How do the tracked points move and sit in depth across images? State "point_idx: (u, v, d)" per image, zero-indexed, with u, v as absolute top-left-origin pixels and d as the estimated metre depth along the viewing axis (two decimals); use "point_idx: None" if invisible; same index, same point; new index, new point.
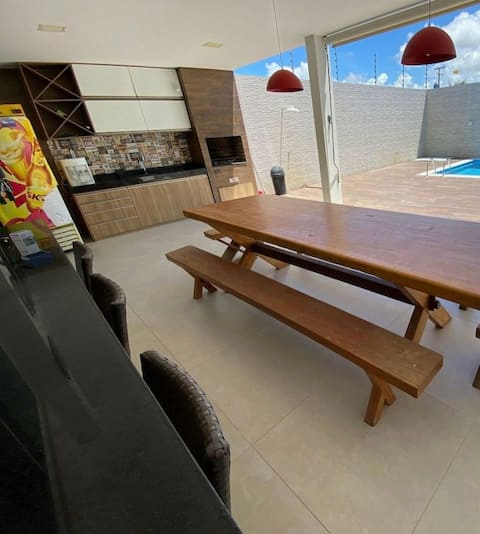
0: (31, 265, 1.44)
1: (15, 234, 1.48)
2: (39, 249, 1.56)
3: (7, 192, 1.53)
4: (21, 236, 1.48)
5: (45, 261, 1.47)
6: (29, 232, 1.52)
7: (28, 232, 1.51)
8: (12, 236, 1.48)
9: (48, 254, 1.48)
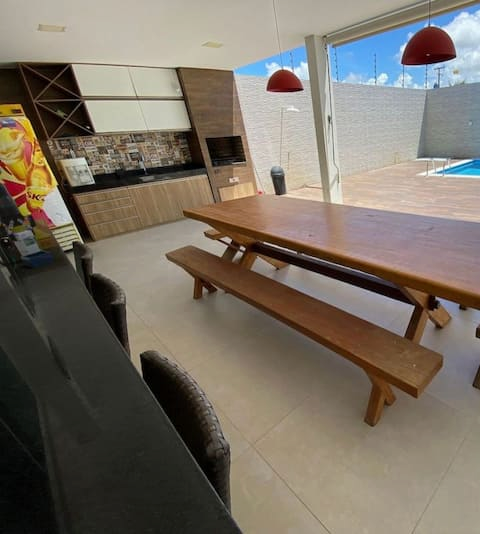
0: (31, 265, 1.44)
1: (15, 234, 1.48)
2: (39, 249, 1.56)
3: (28, 228, 1.53)
4: (21, 236, 1.48)
5: (45, 261, 1.47)
6: (29, 232, 1.52)
7: (28, 232, 1.51)
8: None
9: (48, 254, 1.48)
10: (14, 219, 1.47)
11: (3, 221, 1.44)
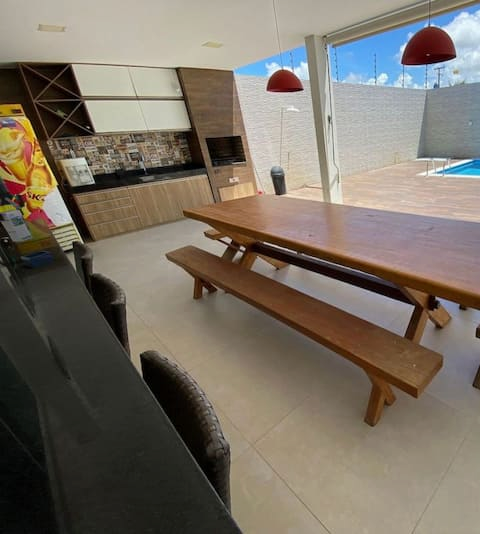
0: (31, 265, 1.44)
1: (3, 213, 1.43)
2: (28, 230, 1.51)
3: (16, 208, 1.48)
4: (9, 215, 1.44)
5: (45, 261, 1.47)
6: (18, 212, 1.47)
7: (16, 212, 1.47)
8: None
9: (48, 254, 1.48)
10: (2, 198, 1.43)
11: None
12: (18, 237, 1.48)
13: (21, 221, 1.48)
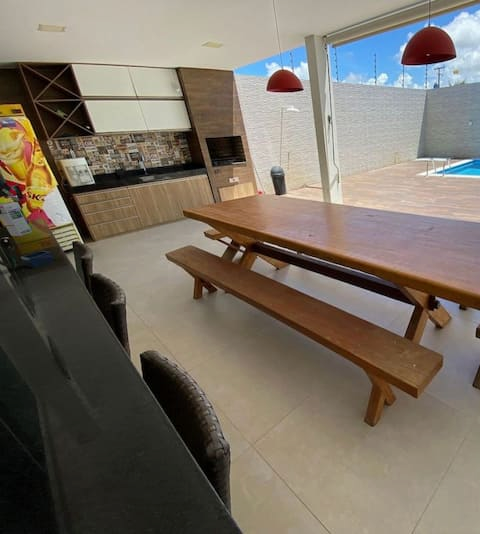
0: (31, 265, 1.44)
1: (0, 205, 1.34)
2: (27, 224, 1.42)
3: (14, 200, 1.39)
4: (6, 208, 1.35)
5: (45, 261, 1.47)
6: (16, 204, 1.38)
7: (15, 204, 1.38)
8: None
9: (48, 254, 1.48)
10: None
11: None
12: (17, 230, 1.39)
13: (20, 214, 1.40)
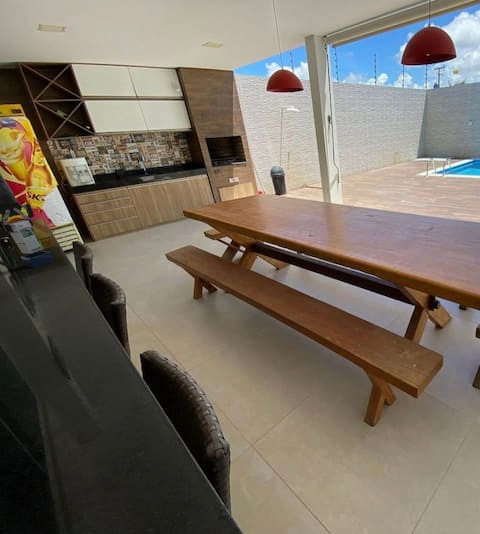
0: (31, 265, 1.44)
1: (11, 224, 1.37)
2: (37, 241, 1.45)
3: (25, 218, 1.42)
4: (18, 227, 1.38)
5: (45, 261, 1.47)
6: (27, 222, 1.41)
7: (25, 223, 1.41)
8: None
9: (48, 254, 1.48)
10: (10, 208, 1.37)
11: None
12: (28, 248, 1.42)
13: (30, 232, 1.42)
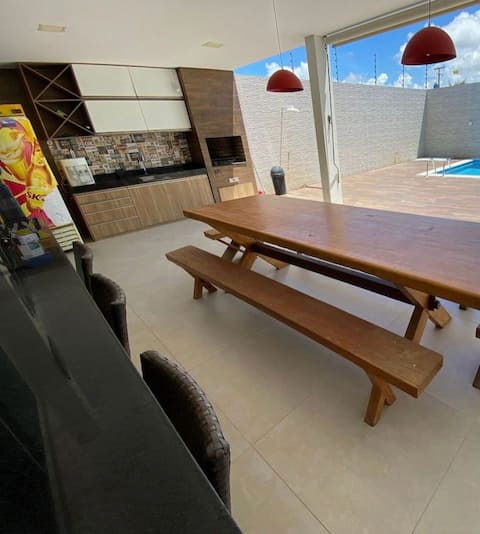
0: (31, 265, 1.44)
1: (19, 238, 1.40)
2: (44, 253, 1.48)
3: (32, 231, 1.45)
4: (25, 240, 1.41)
5: (45, 261, 1.47)
6: (34, 235, 1.44)
7: (33, 235, 1.43)
8: None
9: (48, 254, 1.48)
10: (18, 222, 1.39)
11: (7, 224, 1.36)
12: None
13: (37, 244, 1.45)
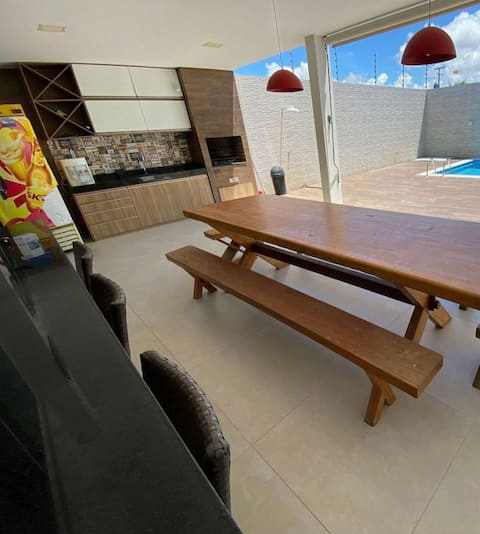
0: (31, 265, 1.44)
1: (19, 238, 1.40)
2: (44, 253, 1.48)
3: None
4: (25, 240, 1.41)
5: (45, 261, 1.47)
6: (34, 235, 1.44)
7: (33, 235, 1.43)
8: (16, 240, 1.41)
9: (48, 254, 1.48)
10: None
11: None
12: None
13: (37, 244, 1.45)
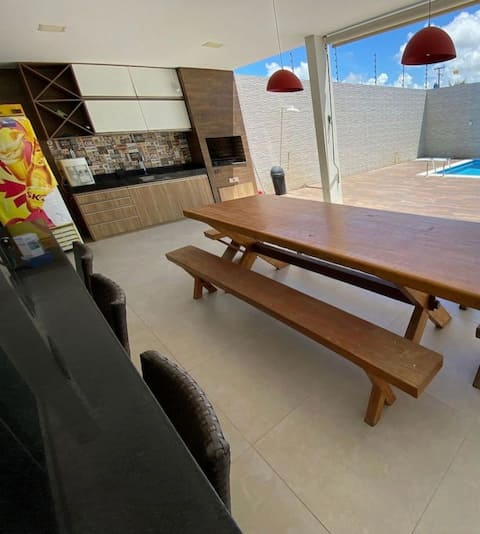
0: (31, 265, 1.44)
1: (19, 238, 1.40)
2: (44, 253, 1.48)
3: None
4: (25, 240, 1.41)
5: (45, 261, 1.47)
6: (34, 235, 1.44)
7: (33, 235, 1.43)
8: (16, 240, 1.41)
9: (48, 254, 1.48)
10: None
11: None
12: None
13: (37, 244, 1.45)
